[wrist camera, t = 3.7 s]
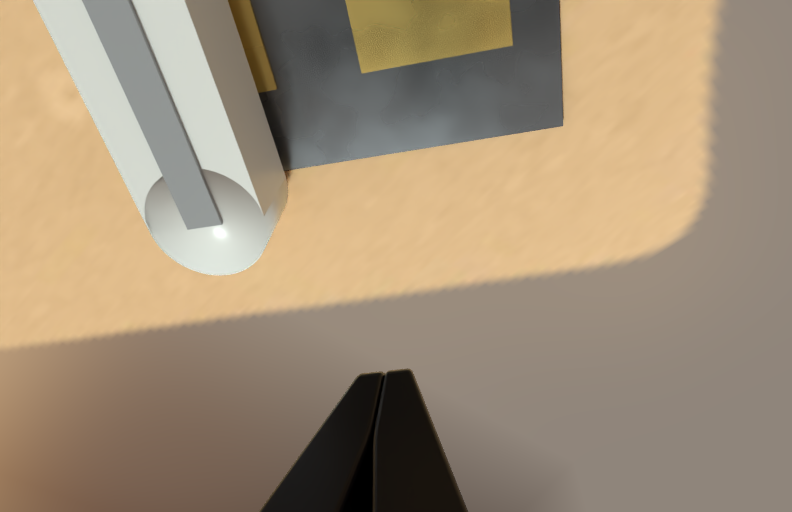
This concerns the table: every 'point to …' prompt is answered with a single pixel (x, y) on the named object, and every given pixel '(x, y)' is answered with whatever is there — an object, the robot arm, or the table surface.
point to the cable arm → (178, 122)
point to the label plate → (399, 73)
